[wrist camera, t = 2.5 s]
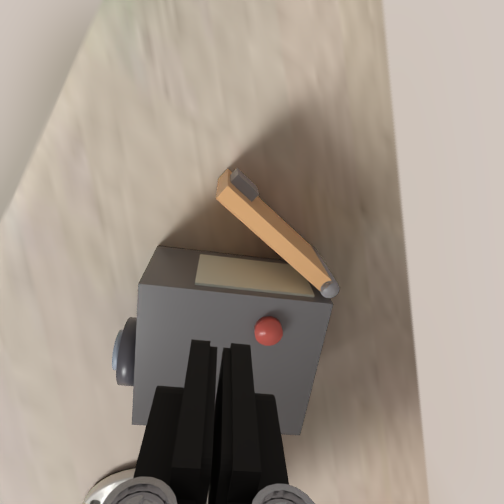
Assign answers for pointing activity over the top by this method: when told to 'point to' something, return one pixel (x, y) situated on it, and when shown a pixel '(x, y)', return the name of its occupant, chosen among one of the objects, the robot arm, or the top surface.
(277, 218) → the side door
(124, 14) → the top surface
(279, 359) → the camera body
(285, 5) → the top surface
